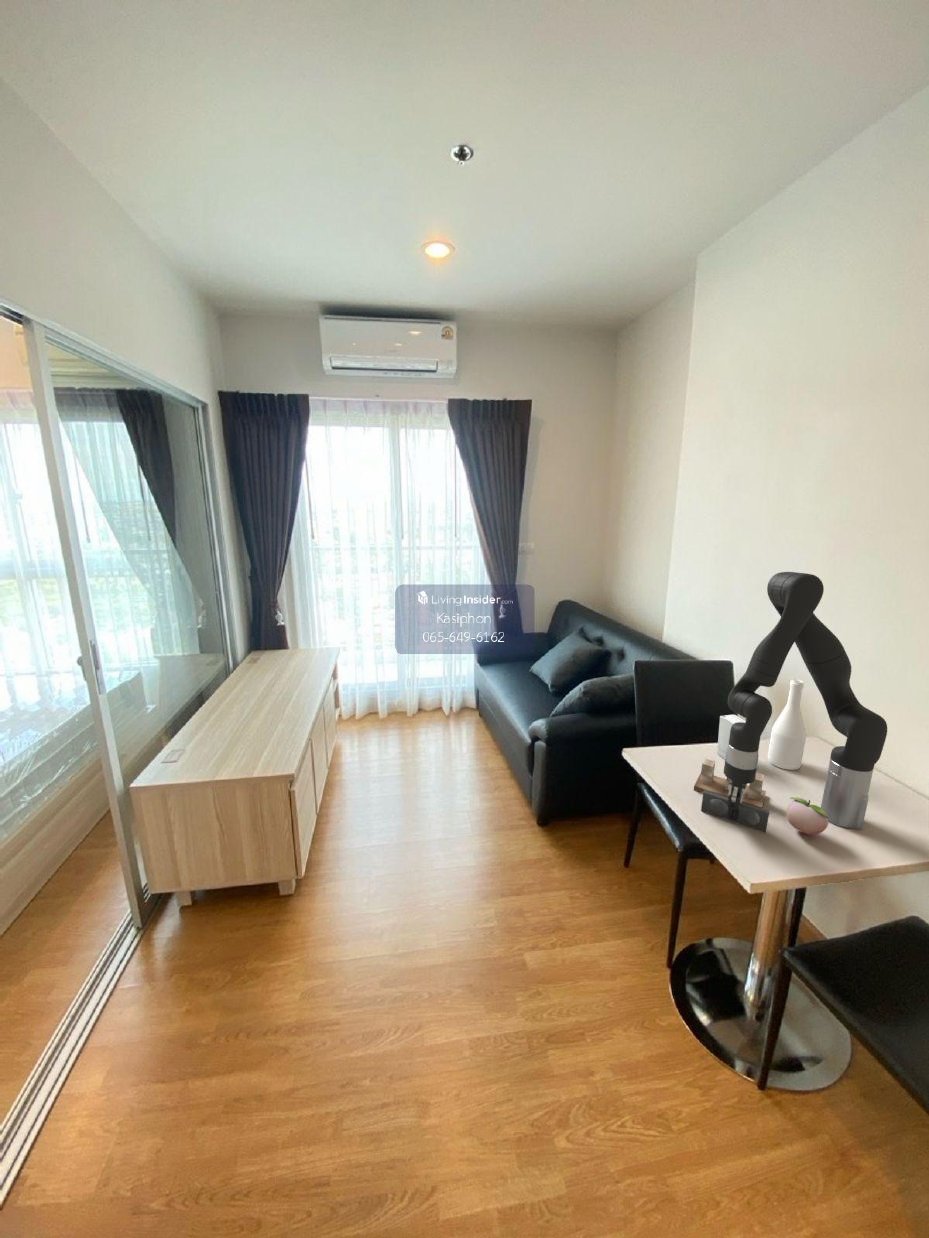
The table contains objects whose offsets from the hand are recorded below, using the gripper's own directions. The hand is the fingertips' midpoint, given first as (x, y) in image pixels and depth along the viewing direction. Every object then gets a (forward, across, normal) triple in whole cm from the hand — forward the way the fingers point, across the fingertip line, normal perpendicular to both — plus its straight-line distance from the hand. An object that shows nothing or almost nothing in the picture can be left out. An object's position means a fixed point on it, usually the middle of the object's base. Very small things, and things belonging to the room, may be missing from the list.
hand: (733, 816), depth 132 cm
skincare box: (+1, +37, +6) cm, 38 cm away
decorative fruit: (+1, +5, -16) cm, 17 cm away
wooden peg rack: (+1, +14, +3) cm, 14 cm away
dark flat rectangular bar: (+1, 0, 0) cm, 1 cm away
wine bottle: (+1, +44, -9) cm, 45 cm away
